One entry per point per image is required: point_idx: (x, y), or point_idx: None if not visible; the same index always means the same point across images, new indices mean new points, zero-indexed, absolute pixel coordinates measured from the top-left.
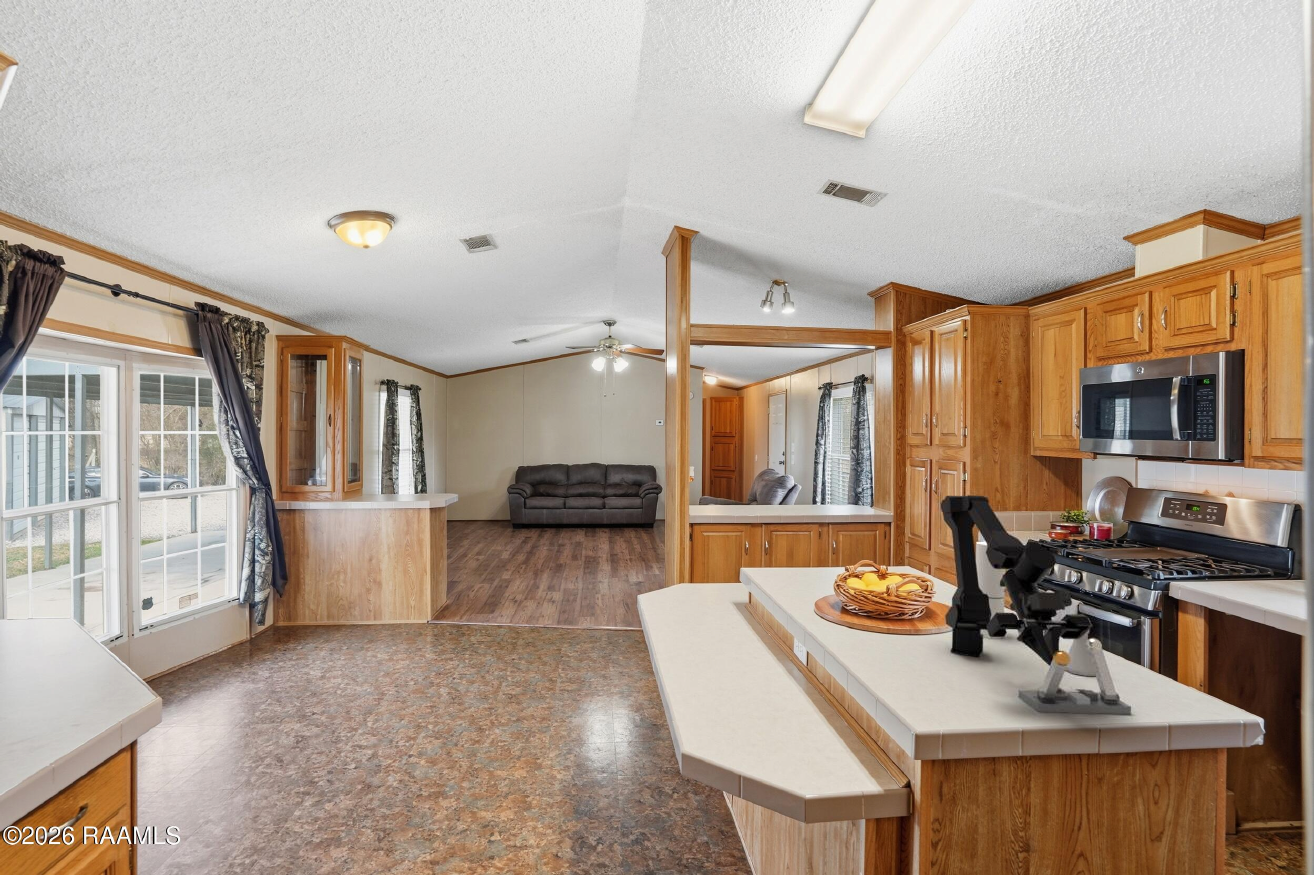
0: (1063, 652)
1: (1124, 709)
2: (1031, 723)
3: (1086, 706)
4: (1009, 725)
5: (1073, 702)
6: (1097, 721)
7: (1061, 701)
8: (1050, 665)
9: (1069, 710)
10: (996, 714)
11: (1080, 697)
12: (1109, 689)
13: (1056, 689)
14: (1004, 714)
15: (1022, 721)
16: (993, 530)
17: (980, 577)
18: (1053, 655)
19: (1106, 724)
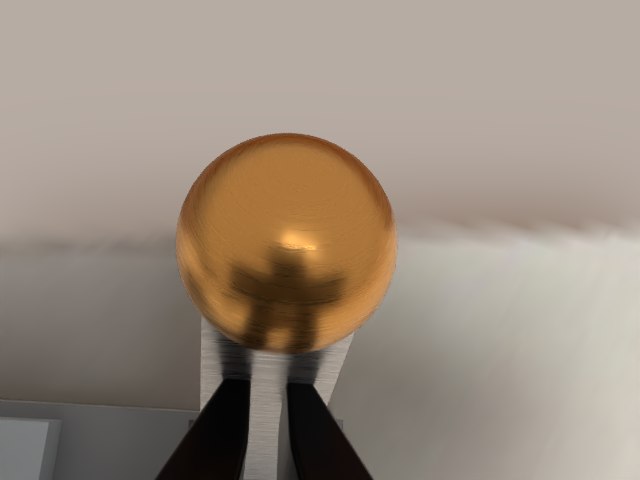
0: (300, 171)
1: None
2: (465, 268)
3: (4, 401)
4: (588, 250)
5: (59, 455)
6: (54, 280)
7: (139, 474)
8: (329, 393)
9: (134, 407)
10: (596, 383)
11: (1, 441)
12: None
13: None
14: (552, 383)
15: (500, 293)
16: None
17: None
18: (388, 285)
19: (33, 240)
